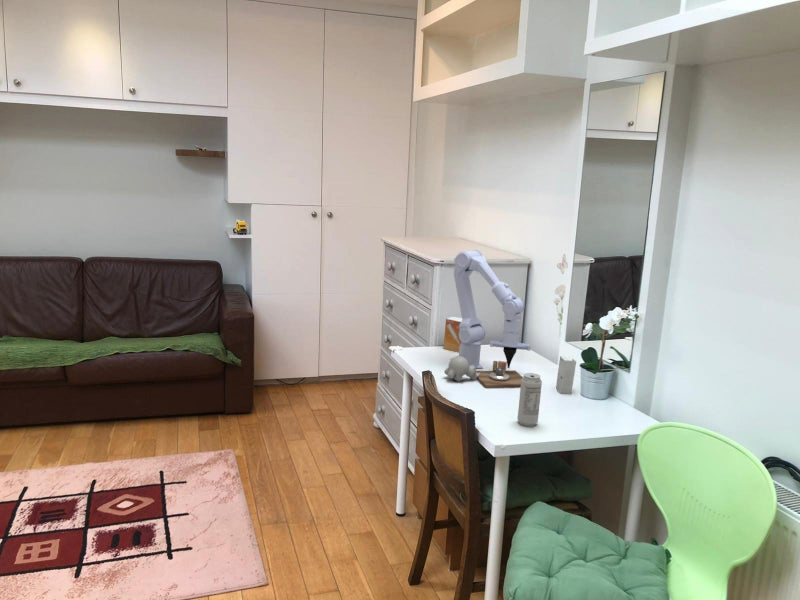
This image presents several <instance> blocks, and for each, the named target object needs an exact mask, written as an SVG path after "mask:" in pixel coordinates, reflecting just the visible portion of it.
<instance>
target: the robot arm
mask: <svg viewBox="0 0 800 600" xmlns="http://www.w3.org/2000/svg"><path fill="white" fill-rule="evenodd" d="M473 272H478V273H479V274H480V275H481V277H483V279H484V280H485V281H486V282H487V283H488V284H489V285H490V287H491V292H492V293H493V295H494V296H495V298H496V299H497V300H498V302H499V303H500V304H501V306H502V307H501V309H502V311H503V314H504V323H503V324H504V325H503V334H502V340H490V342H489V346H490V347H491V348H494V347H496V348H502V349H503V353H504V356H505V360H506V362H507V366H506V369H510V368H511V363H512V360H513V358H514V356H515V354H516V353H517V350H523V351H524V350H525V351H530V352H531V347H532V345H531V344H530V343H523V342H520V341H519V339H520V331H521V320H522V319H521V318H522V313H523V312H524V310H525V302H524V300H523V298H521V297H518V296H517V295H516V293H515V294H514V293H513V291H512V290H511V288H510V287H509V286H510V285H509V283H506V282H504V281H500V280H499V278H498V276H497V275H496V274H495V272H494V271H493V270H492V268H491V267H490V264H488V262H487V258H486V256H484V255H483V253H482V252H481V251H480V250H478V249H474V250H467V251H460V252H458V253H457V255H456V256H455V257H454V270H453V277H454V282H455V288H456V293H457V298H458V303H459V309H460V313H461V318H462V321H461V323H460V325H459V329H460V331H459V339H460V341H461V344H460V347H459V352H458V356H462V357H464V358H465V359H466V360H467V361H468V363H469V366H472V365H474V367H477V368H476V369H483V368H484V367H483V365H481V364H480V361H481V351H482V350H481V347H482V342H483V341H484V339H485V337H486V330H485V327H484V326H483V324H482V321H481V319H480V318H479V317H478V316H477V311H476V305H475V301H474V296H473V291H472V285H471V280H470V276H471V274H472V273H473Z"/></svg>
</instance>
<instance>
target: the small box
mask: <svg viewBox="0 0 800 600" xmlns="http://www.w3.org/2000/svg"><path fill="white" fill-rule="evenodd" d="M461 321H462V317H457V316H450V317H447V318H446V319H445V326H444V327H445V328H444V329H445V330H444V340H443V349H444V350H449V351H452V350H453V352H456V351H457V353H459V347H460V344H461V341H460V339H459V331H460V329H459V325H460V323H461Z"/></svg>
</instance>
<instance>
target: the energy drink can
mask: <svg viewBox="0 0 800 600" xmlns="http://www.w3.org/2000/svg"><path fill="white" fill-rule="evenodd" d="M522 377H523V378H522V379H521V388H519V389H520V390H519V400H518V409H517V421H518V423H519V424H520V425H522V426H524V427H534V426H536V425H537V423H538V422H539V413H540V404H541V394H542V384H543V382H542V379H541V375H539V374H536V373H533V372H532V373H531V372H527V373H524V374H523V376H522Z"/></svg>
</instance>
